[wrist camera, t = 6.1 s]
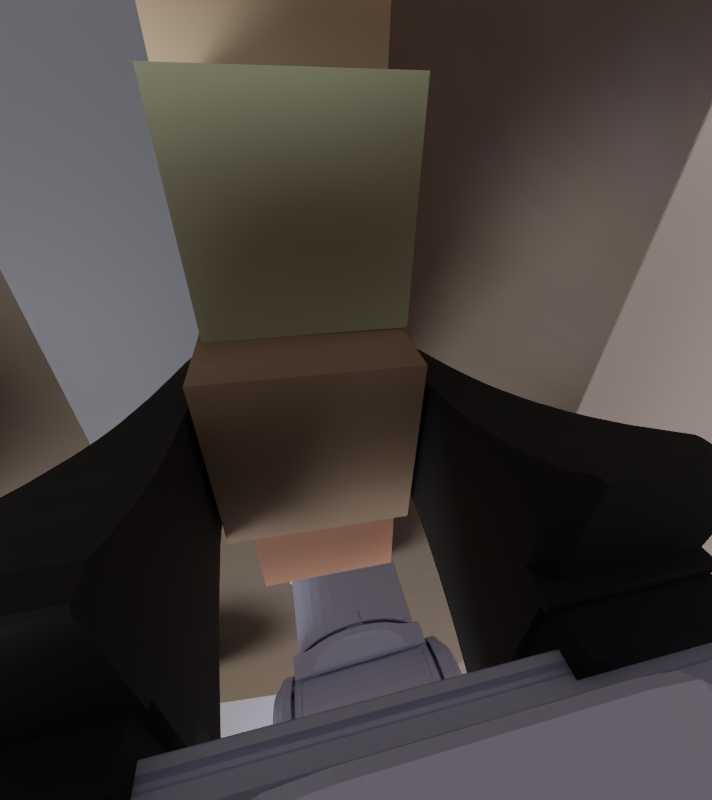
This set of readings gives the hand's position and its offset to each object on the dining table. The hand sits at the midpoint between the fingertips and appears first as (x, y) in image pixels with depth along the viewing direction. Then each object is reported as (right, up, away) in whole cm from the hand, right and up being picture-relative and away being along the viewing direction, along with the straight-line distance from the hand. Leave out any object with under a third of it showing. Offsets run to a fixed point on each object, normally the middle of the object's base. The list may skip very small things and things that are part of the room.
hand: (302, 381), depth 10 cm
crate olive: (0, +5, -1) cm, 5 cm away
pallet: (-1, +2, +3) cm, 4 cm away
